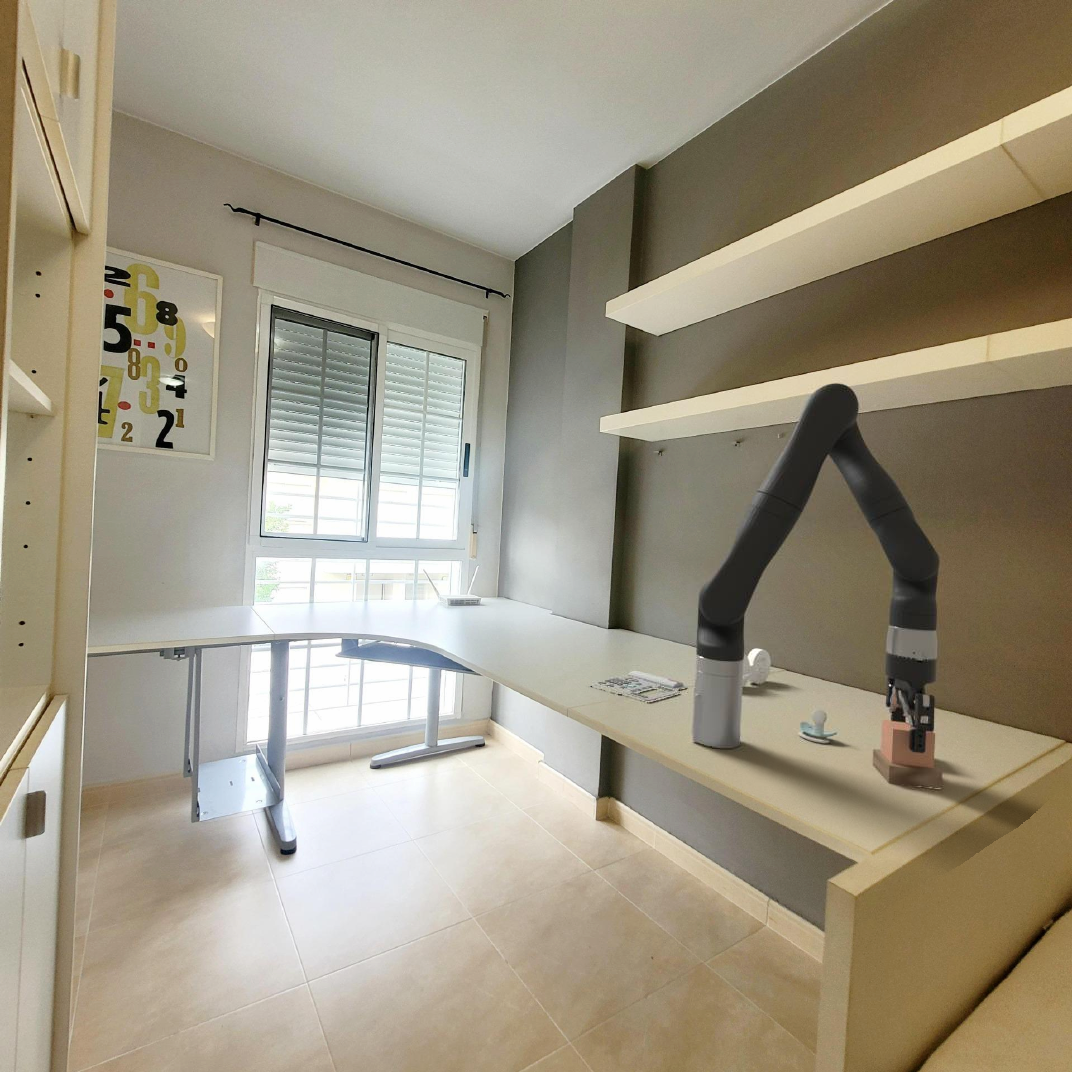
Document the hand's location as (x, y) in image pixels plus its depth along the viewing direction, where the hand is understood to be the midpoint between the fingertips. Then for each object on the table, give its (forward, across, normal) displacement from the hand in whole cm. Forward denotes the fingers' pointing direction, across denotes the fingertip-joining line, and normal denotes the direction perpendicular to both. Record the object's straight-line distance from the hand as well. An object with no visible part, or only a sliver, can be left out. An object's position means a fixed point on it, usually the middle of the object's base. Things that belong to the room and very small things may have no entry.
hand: (906, 743), depth 98 cm
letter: (+6, -56, -20) cm, 60 cm away
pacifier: (+6, -16, -11) cm, 20 cm away
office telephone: (+7, -41, -49) cm, 64 cm away
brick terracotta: (+3, 0, 0) cm, 3 cm away
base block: (+6, 0, 0) cm, 6 cm away
